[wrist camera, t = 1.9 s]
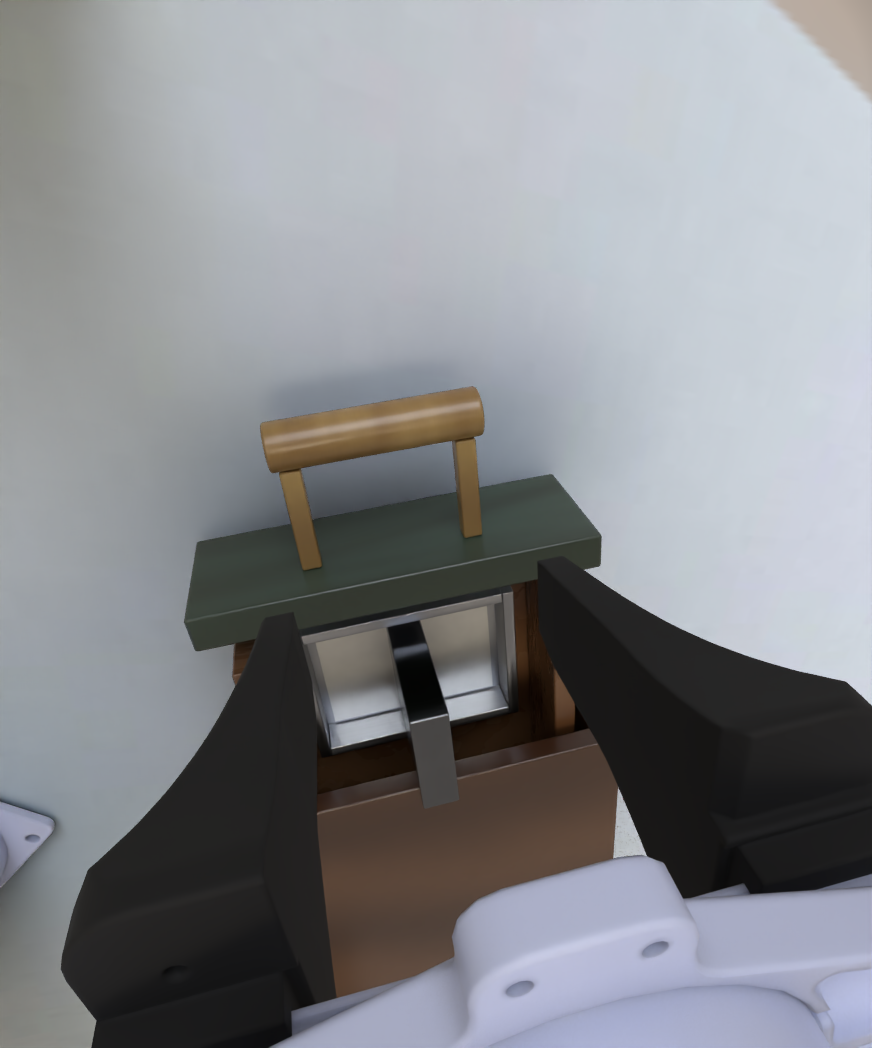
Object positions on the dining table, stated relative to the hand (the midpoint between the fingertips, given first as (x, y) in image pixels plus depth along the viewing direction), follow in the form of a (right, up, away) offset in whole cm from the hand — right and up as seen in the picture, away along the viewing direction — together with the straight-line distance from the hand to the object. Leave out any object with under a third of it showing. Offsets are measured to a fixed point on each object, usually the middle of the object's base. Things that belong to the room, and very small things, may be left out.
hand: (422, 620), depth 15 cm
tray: (-1, -2, +10) cm, 10 cm away
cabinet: (0, -11, +17) cm, 20 cm away
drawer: (-1, -2, +11) cm, 11 cm away
